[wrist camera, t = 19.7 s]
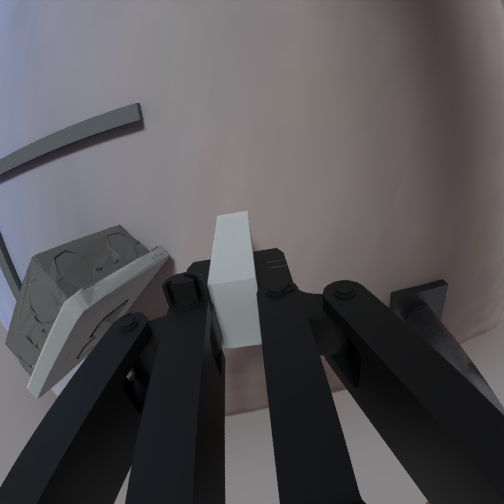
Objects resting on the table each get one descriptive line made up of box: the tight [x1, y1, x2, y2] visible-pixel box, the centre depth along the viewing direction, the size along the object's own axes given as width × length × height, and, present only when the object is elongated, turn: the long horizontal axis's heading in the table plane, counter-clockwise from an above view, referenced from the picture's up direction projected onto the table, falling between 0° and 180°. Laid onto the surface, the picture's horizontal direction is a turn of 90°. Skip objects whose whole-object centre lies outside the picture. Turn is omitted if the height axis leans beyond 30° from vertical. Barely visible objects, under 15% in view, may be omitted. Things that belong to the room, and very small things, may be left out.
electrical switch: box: [6, 225, 169, 398], centre depth 16 cm, size 9×5×9 cm, turn 138°
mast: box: [390, 280, 504, 415], centre depth 16 cm, size 5×5×14 cm
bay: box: [0, 103, 143, 301], centre depth 18 cm, size 16×15×1 cm
